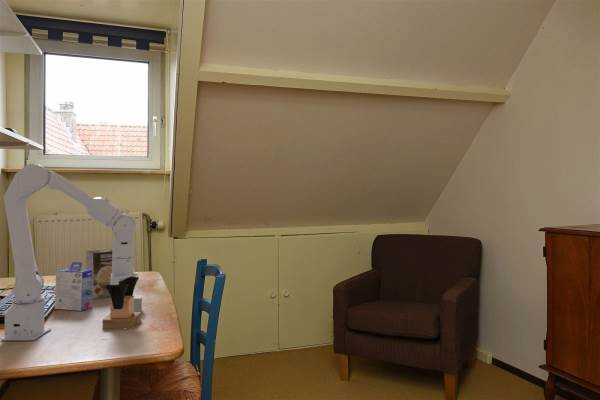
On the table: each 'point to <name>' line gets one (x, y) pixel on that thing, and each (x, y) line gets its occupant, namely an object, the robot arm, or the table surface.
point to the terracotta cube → (126, 310)
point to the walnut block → (122, 322)
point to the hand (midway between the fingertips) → (122, 305)
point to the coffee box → (99, 271)
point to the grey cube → (138, 303)
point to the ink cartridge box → (73, 288)
